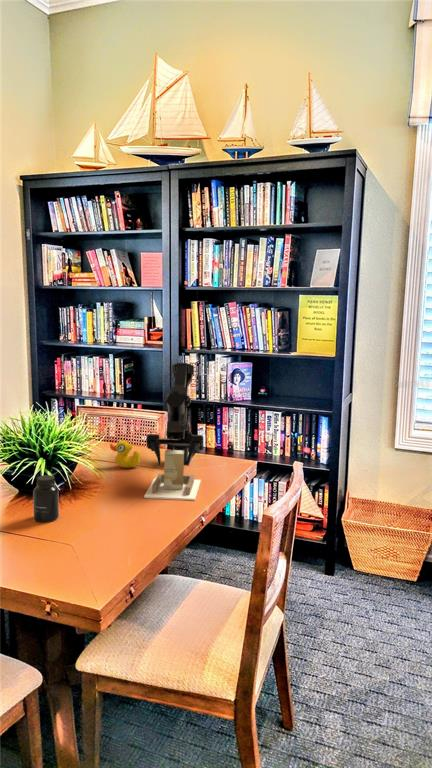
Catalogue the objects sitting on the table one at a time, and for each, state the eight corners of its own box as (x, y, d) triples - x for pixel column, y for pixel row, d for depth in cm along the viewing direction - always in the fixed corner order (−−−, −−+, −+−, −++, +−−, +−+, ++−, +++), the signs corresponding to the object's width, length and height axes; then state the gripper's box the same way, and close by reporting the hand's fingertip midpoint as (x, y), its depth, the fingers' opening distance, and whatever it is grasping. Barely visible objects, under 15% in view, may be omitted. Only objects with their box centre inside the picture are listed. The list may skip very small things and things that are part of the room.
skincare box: (163, 489, 180) (163, 453, 178) (164, 485, 184) (164, 449, 182) (183, 489, 180) (183, 453, 178) (184, 485, 184) (184, 449, 182)
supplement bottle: (36, 524, 152) (34, 483, 150) (31, 516, 158) (30, 475, 156) (61, 520, 155) (60, 479, 153) (56, 512, 161) (55, 472, 159)
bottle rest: (154, 479, 192) (154, 470, 191) (200, 481, 190) (201, 472, 190) (144, 498, 174) (144, 488, 173) (194, 500, 173) (195, 490, 172)
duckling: (108, 468, 202) (107, 442, 200) (112, 464, 207) (111, 438, 206) (138, 470, 201) (138, 443, 200) (142, 465, 206) (142, 439, 205)
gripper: (146, 410, 182) (142, 452, 173) (203, 411, 182) (202, 453, 173) (149, 427, 191) (145, 468, 182) (204, 429, 191) (202, 469, 182)
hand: (173, 464), depth 179 cm, fingers open, 9 cm apart
